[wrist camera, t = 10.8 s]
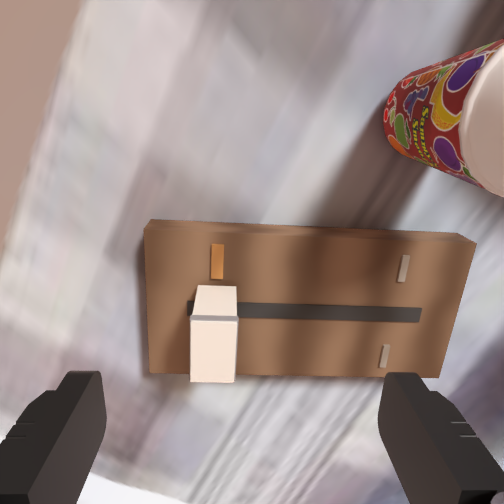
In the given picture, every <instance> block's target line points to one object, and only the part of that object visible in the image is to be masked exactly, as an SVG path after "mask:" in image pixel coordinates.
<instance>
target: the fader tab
mask: <svg viewBox="0 0 504 504" xmlns="http://www.w3.org/2000/svg"><path fill="white" fill-rule="evenodd" d="M238 322H239V318H238V316H237V296H236V286H209V285H198V288H197V293H196V298H195V303H194V309H193V314H192V315H190V382H224V383H234V381H235V377H236V358H237V340H238Z"/></svg>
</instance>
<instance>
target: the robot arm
mask: <svg viewBox="0 0 504 504" xmlns="http://www.w3.org/2000/svg"><path fill="white" fill-rule="evenodd" d="M106 419H107V416H106V407H105V400H104V392H103V385H102V377H101V374H100V372H99V371H69V372H68V373H67V374H66V376H65V377H64V379H63V380H62V382H61V383H60V385H59V386H58V388H57V389H56V390H46V391H45V392H44V393H43V394H41V395H40V396H39V397H37V398H36V399H35V400H34V401H32V402H31V403H30V404H29V405H28V406H27V407H26V409H25V410H24V411H23V413H22V414H21V416H20V417H19V418H18V420H17V421H16V425H13V427H12V428H11V430H10V431H9V432H8V434H7V435H6V439H5V440H3V441H2V442H1V444H0V504H76V503H77V501H78V498H79V496H80V493H81V491H82V488H83V486H84V484H85V481H86V479H87V476H88V474H89V472H90V469H91V467H92V464H93V462H94V459H95V457H96V455H97V452H98V450H99V447H100V445H101V442H102V440H103V437H104V433H105V429H106ZM378 428H379V433H380V436H381V439H382V441H383V443H384V446H385V448H386V450H387V453H388V455H389V457H390V459H391V462H392V464H393V466H394V468H395V471H396V473H397V475H398V478H399V480H400V482H401V484H402V487H403V489H404V491H405V494H406V496H407V498H408V500H409V503H410V504H504V471H503V470H502V469H501V467H500V466H499V465H498V463H497V462H496V461H495V459H494V458H493V457H492V455H491V454H490V453H489V451H488V450H487V448H486V447H485V446H484V444H483V443H482V442H481V440H480V439H479V438H477V437H476V434H475V432H474V431H473V430H472V428H471V427H470V425H469V424H466V420H465V419H464V417H463V416H462V415H461V413H460V412H459V411H458V409H457V408H456V407H455V405H454V404H453V403H451V402H450V401H449V400H447V399H446V398H445V397H444V396H442V395H441V394H440V393H439V392H437V391H429V389H428V388H427V386H426V385H425V384H424V382H423V381H422V379H421V378H420V376H419V375H418V374H417V373H415V372H388V373H387V374H386V376H385V380H384V385H383V390H382V396H381V401H380V406H379V412H378Z"/></svg>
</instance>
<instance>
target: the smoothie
mask: <svg viewBox="0 0 504 504" xmlns="http://www.w3.org/2000/svg"><path fill="white" fill-rule="evenodd" d="M383 125H384V130H385V135H386V137H387V139H388V141H389V142H390V144H391V146H392V147H393V148H394V149H396V150H397V151H398V152H399V153H401V154H402V155H404V156H407V157H409V158H412V159H414V160H416V161H419V162H421V163H424V164H426V165H428V166H431V167H433V168H436V169H438V170H440V171H443V172H445V173H448V174H450V175H452V176H455V177H457V178H460V179H462V180H464V181H467V182H469V183H472V184H474V185H476V186H479V187H481V188H484V189H486V190H487V191H489V192H491V193H493V194H496V195H498V196H501V197H504V39H501V40H498V41H496V42H493V43H490V44H488V45H485V46H482V47H479V48H477V49H474V50H471V51H469V52H466V53H463V54H460V55H458V56H455V57H452V58H450V59H447V60H444V61H441V62H439V63H436V64H433V65H430V66H428V67H425V68H422V69H419V70H417V71H414V72H411V73H410V74H409V75H407V76H406V77H405V78H403V79H402V80H401V81H399V83H398V84H397V85H396V87H395V88H394V89H393V91H392V92H391V93H390V95H389V98H388V100H387V103H386V105H385V108H384V117H383Z"/></svg>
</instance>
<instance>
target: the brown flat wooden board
mask: <svg viewBox="0 0 504 504" xmlns="http://www.w3.org/2000/svg"><path fill="white" fill-rule="evenodd" d="M476 245H477V243H475V242H473V241H471V240H469V239H467V238H466V237H464V236H462V235H460V234H458V233H446V232H424V231H401V230H379V229H356V228H334V227H312V226H289V225H267V224H244V223H222V222H199V221H177V220H154V219H151V220H150V221H149V223H148V224H147V225H146V227H145V228H144V253H145V277H146V301H147V325H148V349H149V373H177V374H190V315H192V314H193V309H194V303H195V298H196V293H197V288H198V285H209V286H236V296H237V316H238V318H239V322H238V340H237V358H236V375H292V376H349V377H385V376H386V374H387V373H388V372H415V373H417V374H418V375H419V376H420V378H439V375H440V372H441V368H442V365H443V361H444V358H445V354H446V351H447V347H448V344H449V340H450V337H451V333H452V329H453V326H454V322H455V319H456V315H457V312H458V308H459V305H460V301H461V298H462V294H463V291H464V287H465V284H466V280H467V276H468V273H469V269H470V266H471V262H472V259H473V255H474V252H475V248H476Z"/></svg>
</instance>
